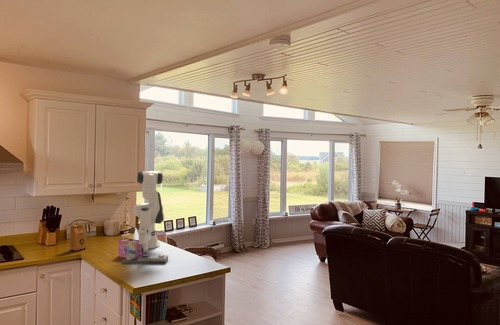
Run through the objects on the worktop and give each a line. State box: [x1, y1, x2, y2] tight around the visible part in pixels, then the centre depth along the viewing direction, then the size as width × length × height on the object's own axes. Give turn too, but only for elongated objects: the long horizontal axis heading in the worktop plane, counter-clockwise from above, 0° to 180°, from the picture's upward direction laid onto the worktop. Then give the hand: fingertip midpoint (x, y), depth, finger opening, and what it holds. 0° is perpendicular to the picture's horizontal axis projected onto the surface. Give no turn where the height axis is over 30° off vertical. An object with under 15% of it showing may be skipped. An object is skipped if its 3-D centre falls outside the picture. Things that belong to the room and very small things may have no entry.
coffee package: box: [69, 223, 87, 252], centre depth 316 cm, size 10×12×22 cm
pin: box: [144, 242, 149, 255], centre depth 276 cm, size 4×4×10 cm
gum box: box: [117, 237, 145, 259], centre depth 290 cm, size 24×8×14 cm, turn 56°
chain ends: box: [121, 254, 169, 265], centre depth 276 cm, size 9×32×5 cm, turn 89°
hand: (145, 247), depth 276 cm, fingers closed on pin, 3 cm apart
